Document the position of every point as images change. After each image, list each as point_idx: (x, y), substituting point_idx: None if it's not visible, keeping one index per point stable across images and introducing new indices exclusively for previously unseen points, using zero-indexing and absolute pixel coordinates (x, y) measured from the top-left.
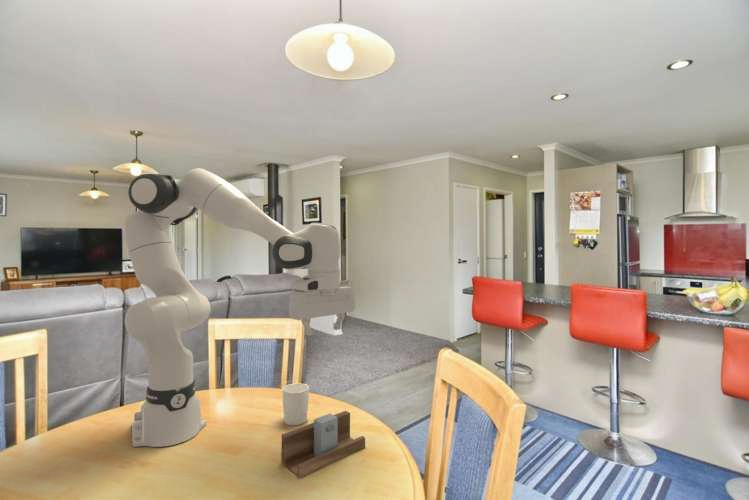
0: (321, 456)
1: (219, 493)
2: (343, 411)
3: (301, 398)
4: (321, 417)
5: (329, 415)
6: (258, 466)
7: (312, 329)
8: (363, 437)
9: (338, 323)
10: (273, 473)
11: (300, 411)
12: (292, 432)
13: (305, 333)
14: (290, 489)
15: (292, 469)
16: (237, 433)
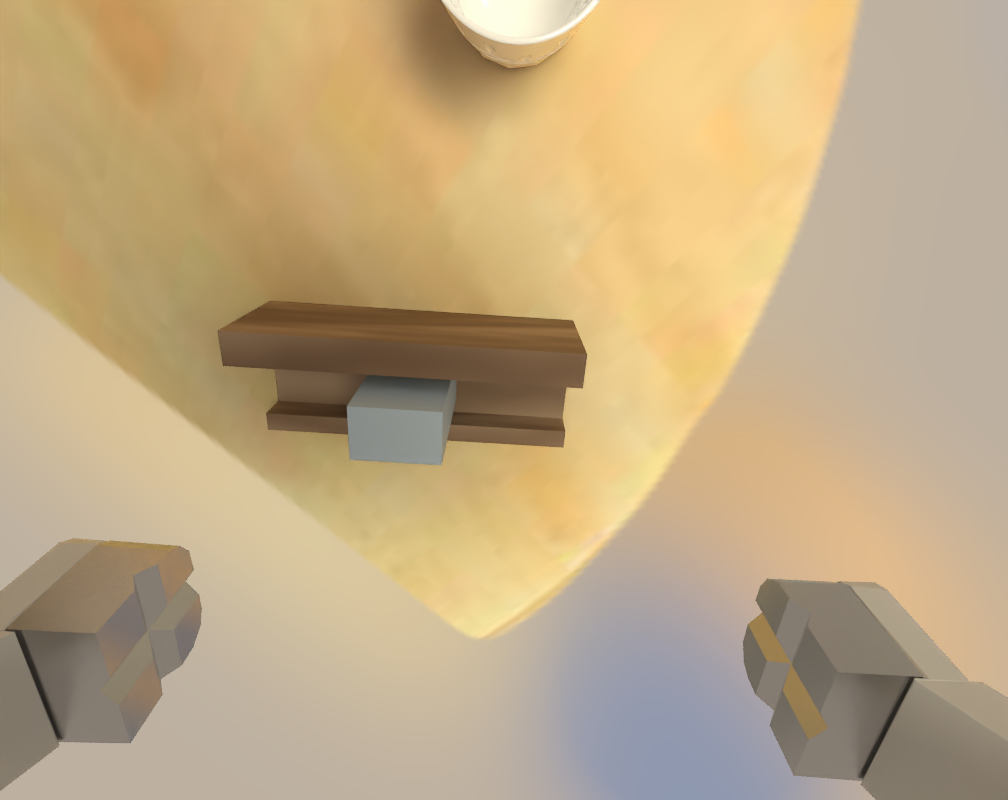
0: None
1: (36, 302)
2: (574, 353)
3: (503, 49)
4: (384, 416)
5: (426, 426)
6: (192, 256)
7: (120, 715)
8: (559, 442)
9: (870, 754)
10: None
11: (500, 59)
12: (265, 350)
13: (65, 545)
14: (233, 436)
15: (277, 370)
16: None
